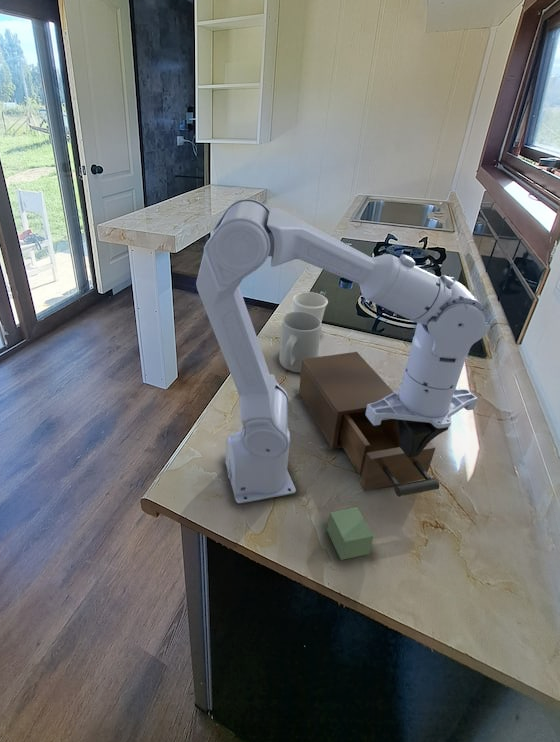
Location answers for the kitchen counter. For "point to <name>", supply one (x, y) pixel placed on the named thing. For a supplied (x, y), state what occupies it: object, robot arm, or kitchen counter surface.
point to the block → (349, 533)
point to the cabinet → (338, 390)
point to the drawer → (384, 456)
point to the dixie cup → (310, 303)
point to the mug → (299, 339)
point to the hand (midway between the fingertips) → (408, 451)
